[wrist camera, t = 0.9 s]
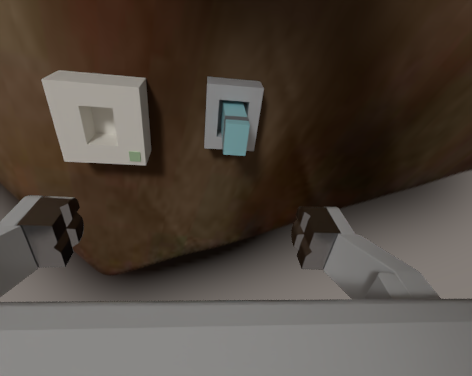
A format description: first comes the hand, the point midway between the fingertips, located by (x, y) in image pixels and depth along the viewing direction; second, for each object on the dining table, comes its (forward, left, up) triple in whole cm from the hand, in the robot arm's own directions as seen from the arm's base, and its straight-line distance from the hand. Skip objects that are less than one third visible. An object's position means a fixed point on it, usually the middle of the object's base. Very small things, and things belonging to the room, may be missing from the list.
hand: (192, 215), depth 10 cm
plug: (+8, +4, -35) cm, 36 cm away
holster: (+8, +4, -36) cm, 37 cm away
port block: (+10, -15, -36) cm, 40 cm away
